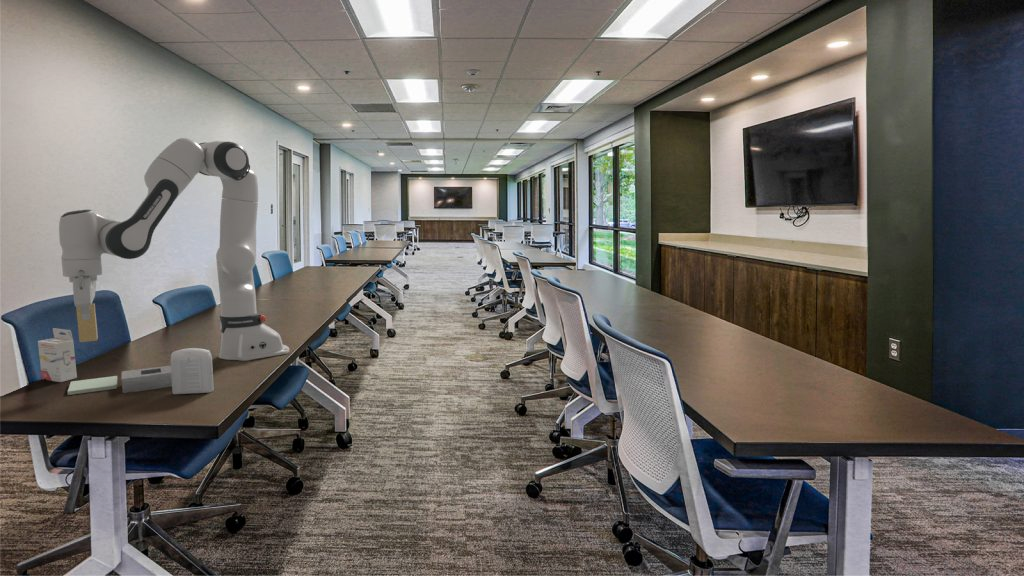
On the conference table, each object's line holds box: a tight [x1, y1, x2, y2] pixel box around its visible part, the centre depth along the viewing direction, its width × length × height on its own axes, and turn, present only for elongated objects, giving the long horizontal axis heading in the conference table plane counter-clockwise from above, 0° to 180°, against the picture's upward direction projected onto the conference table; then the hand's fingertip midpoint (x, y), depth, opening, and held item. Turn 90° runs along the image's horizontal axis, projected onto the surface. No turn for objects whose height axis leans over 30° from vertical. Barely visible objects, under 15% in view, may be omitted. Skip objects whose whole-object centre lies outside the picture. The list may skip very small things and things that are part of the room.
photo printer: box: [170, 347, 215, 395], centre depth 161 cm, size 10×4×12 cm, turn 103°
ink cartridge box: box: [37, 327, 78, 383], centre depth 174 cm, size 9×5×15 cm, turn 71°
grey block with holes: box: [120, 364, 172, 394], centre depth 169 cm, size 18×9×4 cm, turn 122°
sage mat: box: [67, 375, 118, 396], centre depth 167 cm, size 11×11×1 cm
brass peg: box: [76, 302, 99, 343], centre depth 165 cm, size 4×4×10 cm
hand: (87, 318), depth 164 cm, fingers closed on brass peg, 4 cm apart
